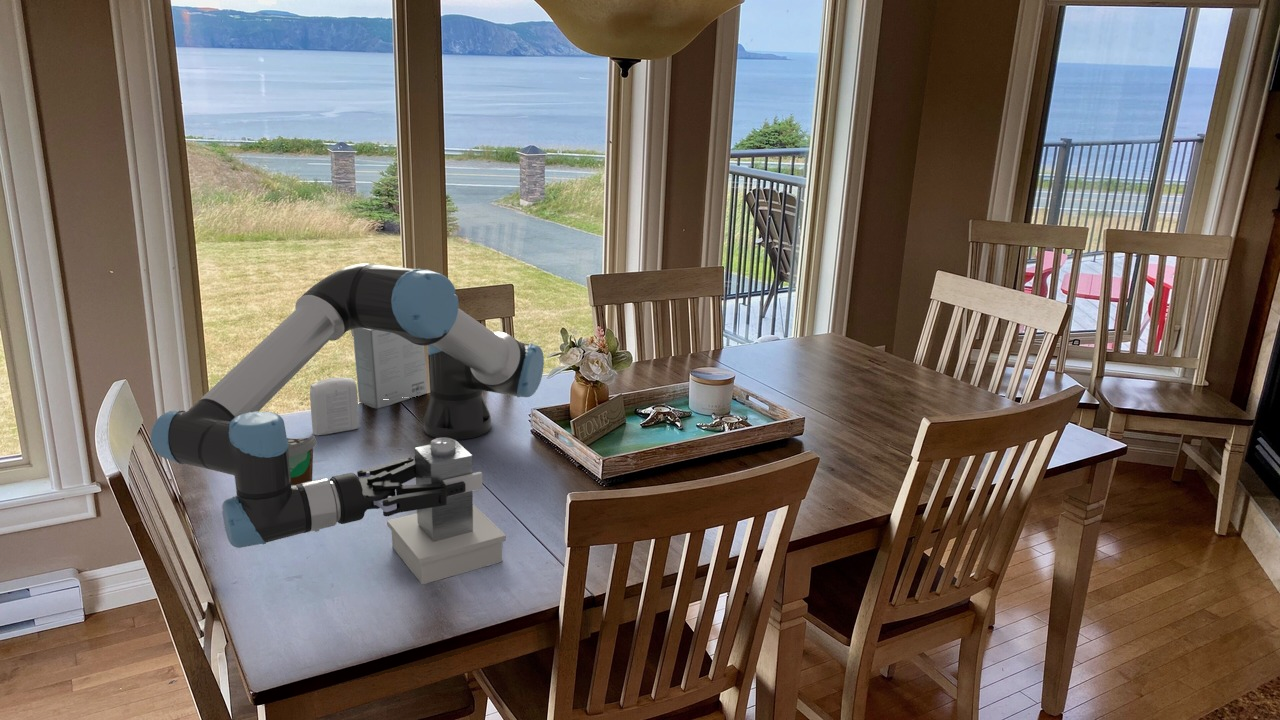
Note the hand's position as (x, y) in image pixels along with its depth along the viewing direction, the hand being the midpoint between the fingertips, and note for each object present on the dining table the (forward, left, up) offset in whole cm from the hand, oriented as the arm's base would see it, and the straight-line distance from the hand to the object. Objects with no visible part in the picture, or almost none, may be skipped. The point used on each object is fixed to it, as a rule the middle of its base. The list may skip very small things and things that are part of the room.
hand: (470, 470), depth 153 cm
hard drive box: (-13, -78, -15) cm, 80 cm away
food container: (+22, -39, -15) cm, 47 cm away
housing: (+5, 0, -9) cm, 11 cm away
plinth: (+5, 0, -15) cm, 15 cm away
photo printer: (+5, -64, -15) cm, 66 cm away
